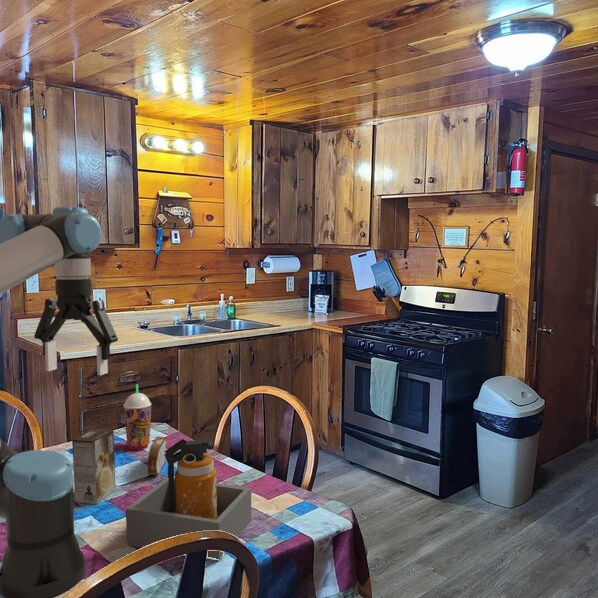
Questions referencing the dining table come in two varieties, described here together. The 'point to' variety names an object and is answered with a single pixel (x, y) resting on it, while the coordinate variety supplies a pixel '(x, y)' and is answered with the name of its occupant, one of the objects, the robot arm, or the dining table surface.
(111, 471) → the coffee box
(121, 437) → the dining table surface
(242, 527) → the bin
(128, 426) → the smoothie
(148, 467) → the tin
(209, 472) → the canister
